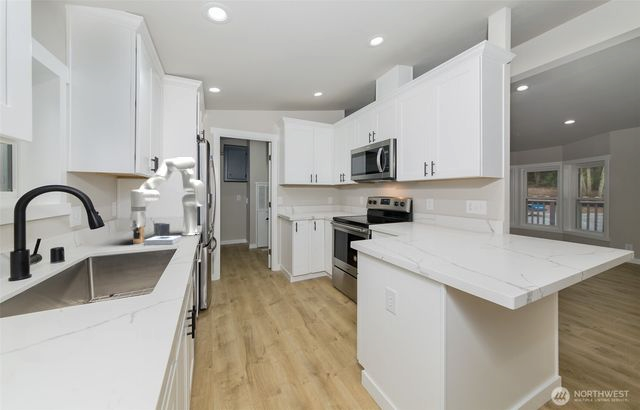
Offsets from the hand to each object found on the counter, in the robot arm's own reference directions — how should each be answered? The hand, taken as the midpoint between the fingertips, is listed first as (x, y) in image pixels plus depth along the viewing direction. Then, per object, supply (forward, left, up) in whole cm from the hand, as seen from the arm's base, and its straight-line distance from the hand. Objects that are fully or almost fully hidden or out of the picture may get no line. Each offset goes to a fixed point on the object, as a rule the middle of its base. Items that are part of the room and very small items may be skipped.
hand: (138, 237), depth 160 cm
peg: (0, 0, -3) cm, 3 cm away
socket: (-1, +14, -3) cm, 14 cm away
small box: (-19, +6, -4) cm, 20 cm away
